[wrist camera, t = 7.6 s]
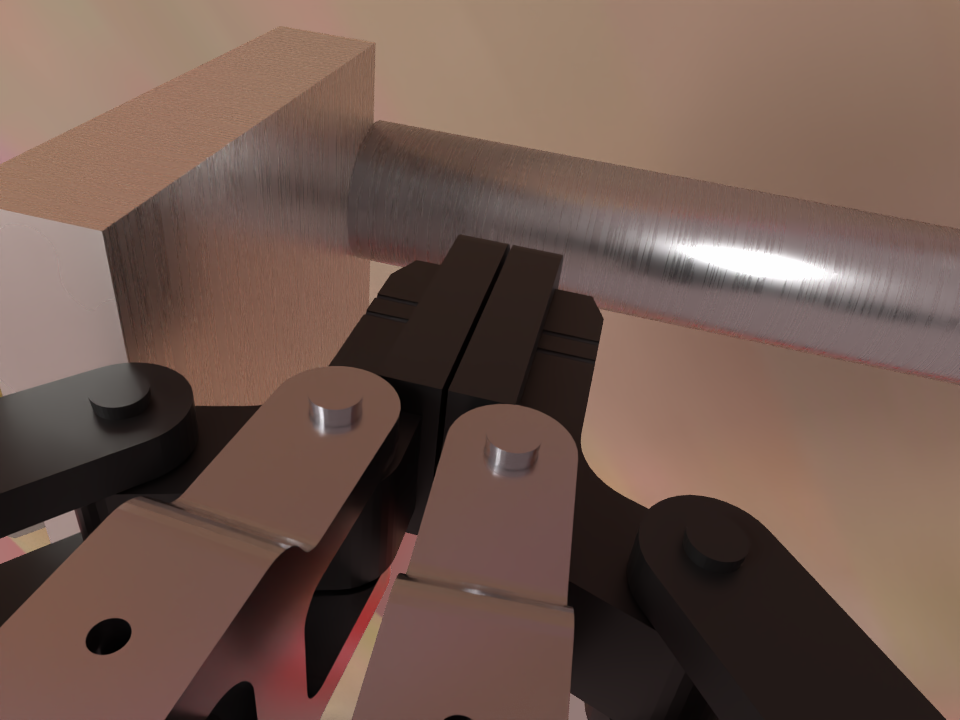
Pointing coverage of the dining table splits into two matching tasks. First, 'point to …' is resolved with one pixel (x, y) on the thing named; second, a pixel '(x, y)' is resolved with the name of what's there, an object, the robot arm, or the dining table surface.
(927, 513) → the dining table surface
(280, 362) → the shaft
